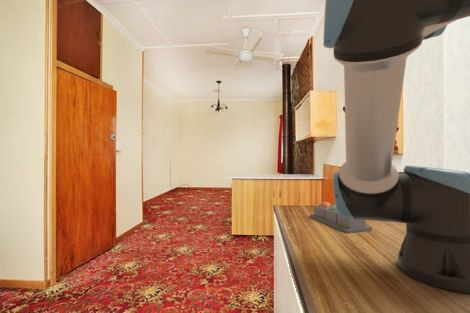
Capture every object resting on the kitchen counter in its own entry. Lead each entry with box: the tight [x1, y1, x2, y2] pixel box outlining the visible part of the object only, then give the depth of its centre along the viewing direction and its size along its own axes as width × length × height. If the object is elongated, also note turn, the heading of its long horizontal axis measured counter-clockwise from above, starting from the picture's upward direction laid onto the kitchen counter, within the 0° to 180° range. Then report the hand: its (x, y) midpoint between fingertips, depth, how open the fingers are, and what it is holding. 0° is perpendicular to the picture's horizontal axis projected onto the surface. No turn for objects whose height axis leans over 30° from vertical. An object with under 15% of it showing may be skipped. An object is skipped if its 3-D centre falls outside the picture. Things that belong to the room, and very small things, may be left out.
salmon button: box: [320, 201, 331, 208], centre depth 95 cm, size 4×4×4 cm
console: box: [309, 204, 373, 234], centre depth 88 cm, size 22×10×5 cm, turn 15°
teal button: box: [331, 204, 338, 212], centre depth 88 cm, size 4×4×4 cm
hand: (361, 154), depth 74 cm, fingers closed
